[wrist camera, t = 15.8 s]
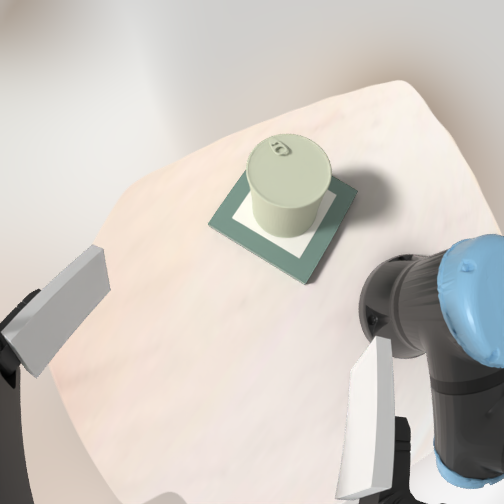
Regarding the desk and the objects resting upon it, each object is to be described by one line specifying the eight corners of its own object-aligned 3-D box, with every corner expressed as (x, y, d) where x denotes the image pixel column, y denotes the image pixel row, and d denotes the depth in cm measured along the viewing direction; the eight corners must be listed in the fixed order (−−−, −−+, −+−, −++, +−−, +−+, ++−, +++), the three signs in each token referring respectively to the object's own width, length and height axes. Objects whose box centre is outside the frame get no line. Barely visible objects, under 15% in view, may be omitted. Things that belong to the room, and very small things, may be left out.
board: (355, 194, 42) (358, 190, 41) (304, 284, 40) (305, 283, 38) (266, 146, 45) (266, 141, 43) (209, 226, 43) (207, 223, 41)
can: (297, 168, 42) (305, 120, 30) (328, 221, 40) (349, 185, 28) (241, 193, 42) (230, 150, 30) (270, 249, 40) (269, 222, 28)
